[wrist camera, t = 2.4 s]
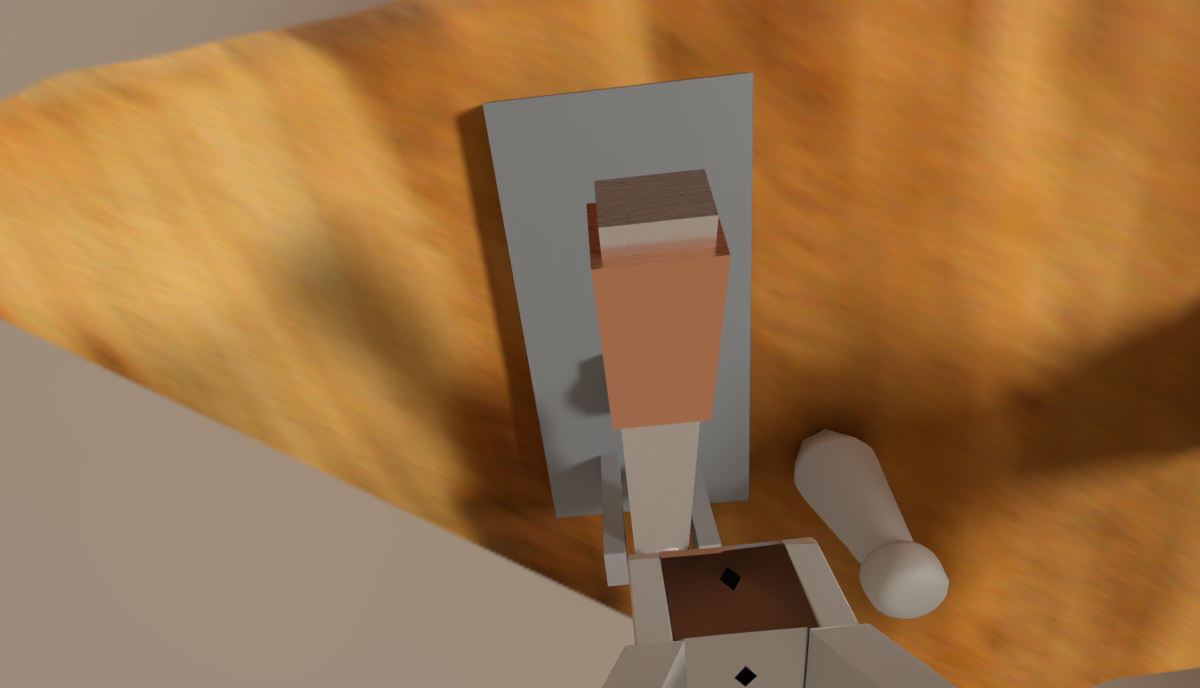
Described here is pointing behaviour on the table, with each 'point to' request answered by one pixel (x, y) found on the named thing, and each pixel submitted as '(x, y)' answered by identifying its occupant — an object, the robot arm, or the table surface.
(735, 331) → the base
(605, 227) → the lever
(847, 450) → the salt shaker
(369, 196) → the table surface
